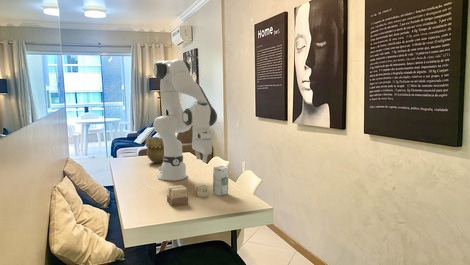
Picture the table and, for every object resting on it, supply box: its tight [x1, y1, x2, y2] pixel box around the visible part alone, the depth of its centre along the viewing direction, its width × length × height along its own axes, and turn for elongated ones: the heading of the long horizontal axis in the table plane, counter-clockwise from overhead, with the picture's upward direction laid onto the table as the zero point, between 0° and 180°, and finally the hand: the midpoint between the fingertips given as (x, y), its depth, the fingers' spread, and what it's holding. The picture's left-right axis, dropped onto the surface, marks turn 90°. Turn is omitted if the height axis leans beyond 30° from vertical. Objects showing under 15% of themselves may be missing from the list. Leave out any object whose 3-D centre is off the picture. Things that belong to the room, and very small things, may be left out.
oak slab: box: [168, 184, 188, 199], centre depth 169 cm, size 7×7×4 cm
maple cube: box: [194, 184, 209, 198], centre depth 183 cm, size 5×5×5 cm
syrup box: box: [212, 165, 229, 197], centre depth 185 cm, size 6×6×14 cm
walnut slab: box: [166, 193, 189, 208], centre depth 169 cm, size 8×8×4 cm
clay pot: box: [145, 136, 164, 164], centre depth 267 cm, size 21×21×20 cm
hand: (201, 160), depth 181 cm, fingers open, 8 cm apart
